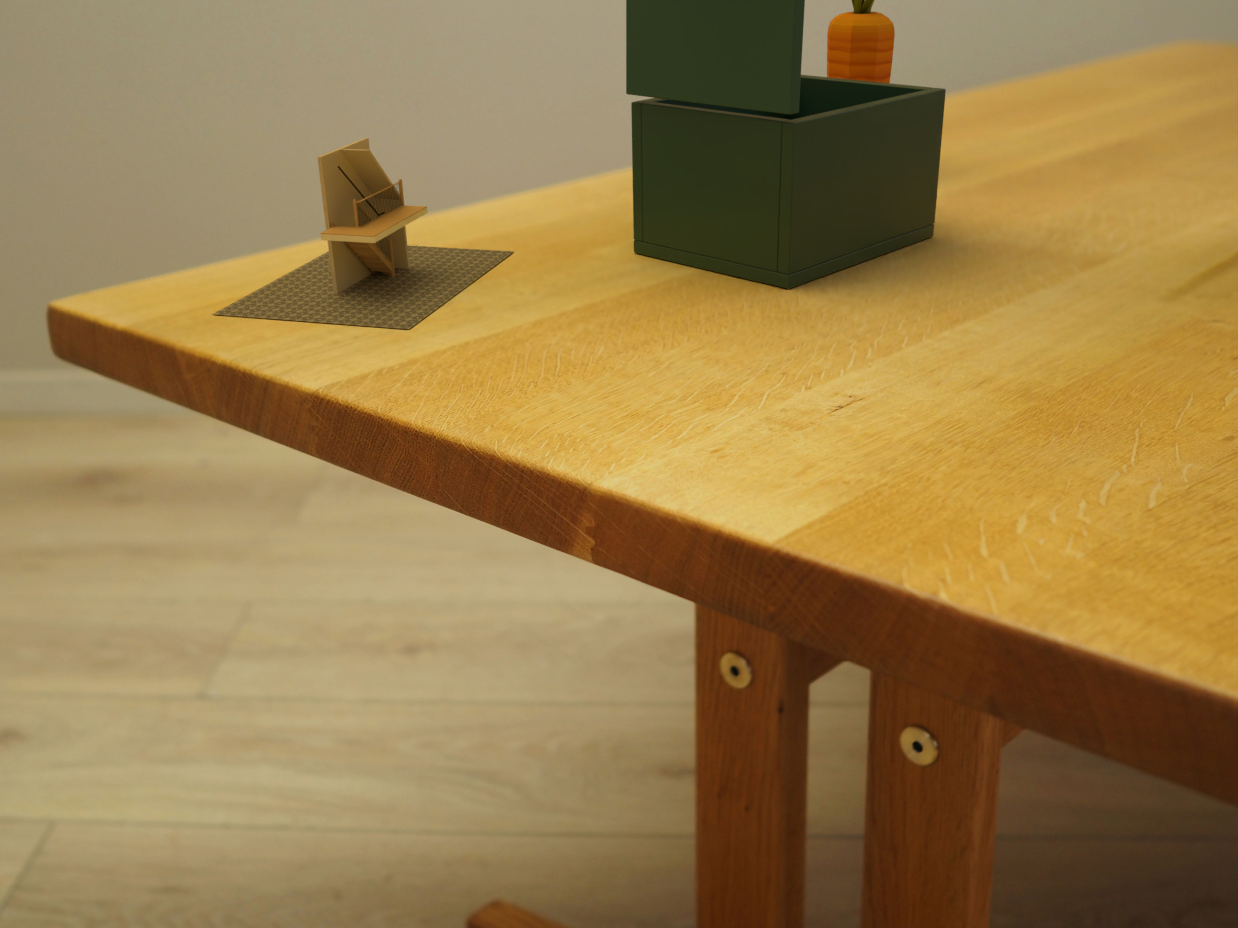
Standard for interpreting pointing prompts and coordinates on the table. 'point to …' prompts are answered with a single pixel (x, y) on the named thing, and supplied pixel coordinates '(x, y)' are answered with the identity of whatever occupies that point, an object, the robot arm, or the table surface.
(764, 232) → the bin
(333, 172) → the architectural model
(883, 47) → the carrot
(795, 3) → the bin lid
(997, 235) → the table surface
